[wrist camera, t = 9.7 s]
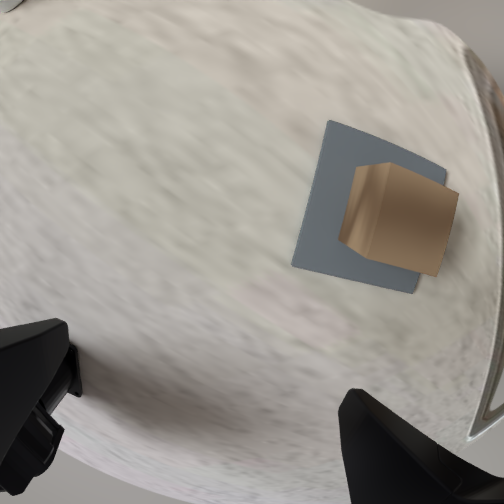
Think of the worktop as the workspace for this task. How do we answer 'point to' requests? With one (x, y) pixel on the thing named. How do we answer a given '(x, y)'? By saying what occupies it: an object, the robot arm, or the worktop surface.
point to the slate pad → (335, 202)
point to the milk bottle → (8, 5)
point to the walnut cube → (398, 217)
